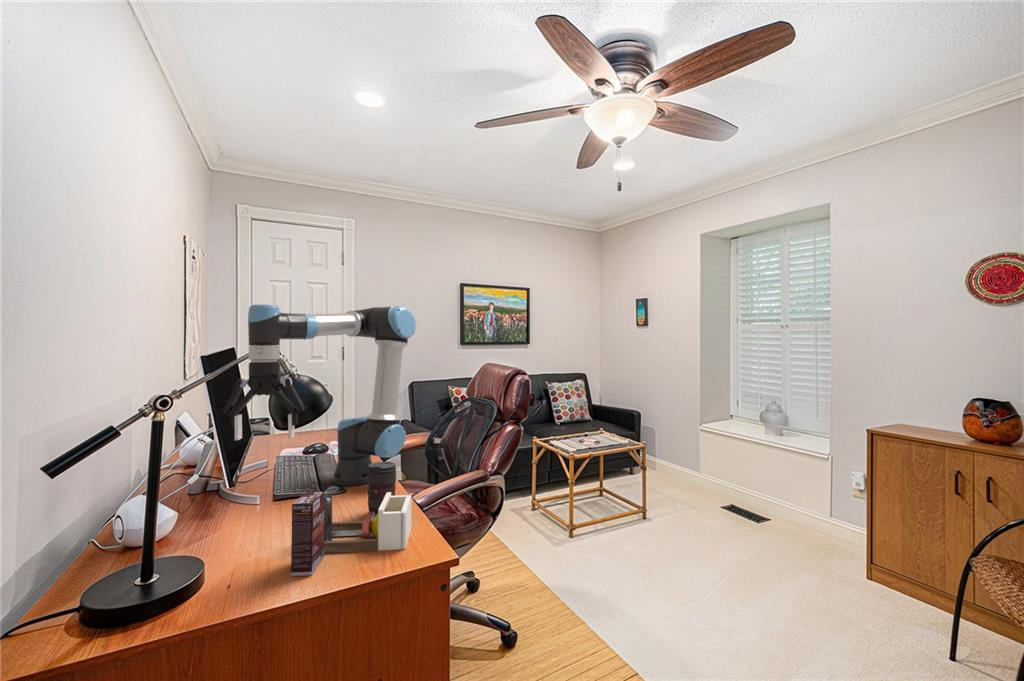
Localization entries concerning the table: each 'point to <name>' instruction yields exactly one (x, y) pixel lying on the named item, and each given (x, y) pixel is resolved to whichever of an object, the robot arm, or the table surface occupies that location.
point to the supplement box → (307, 533)
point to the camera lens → (380, 483)
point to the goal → (394, 522)
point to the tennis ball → (375, 526)
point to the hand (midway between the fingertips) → (265, 438)
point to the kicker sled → (329, 533)
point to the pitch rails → (349, 544)
